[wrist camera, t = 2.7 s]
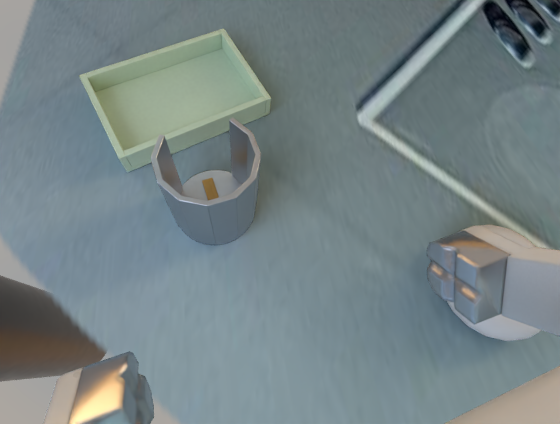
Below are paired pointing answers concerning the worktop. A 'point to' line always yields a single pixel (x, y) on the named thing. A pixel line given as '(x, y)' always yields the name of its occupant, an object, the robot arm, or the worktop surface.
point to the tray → (175, 96)
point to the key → (210, 189)
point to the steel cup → (230, 187)
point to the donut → (500, 324)
